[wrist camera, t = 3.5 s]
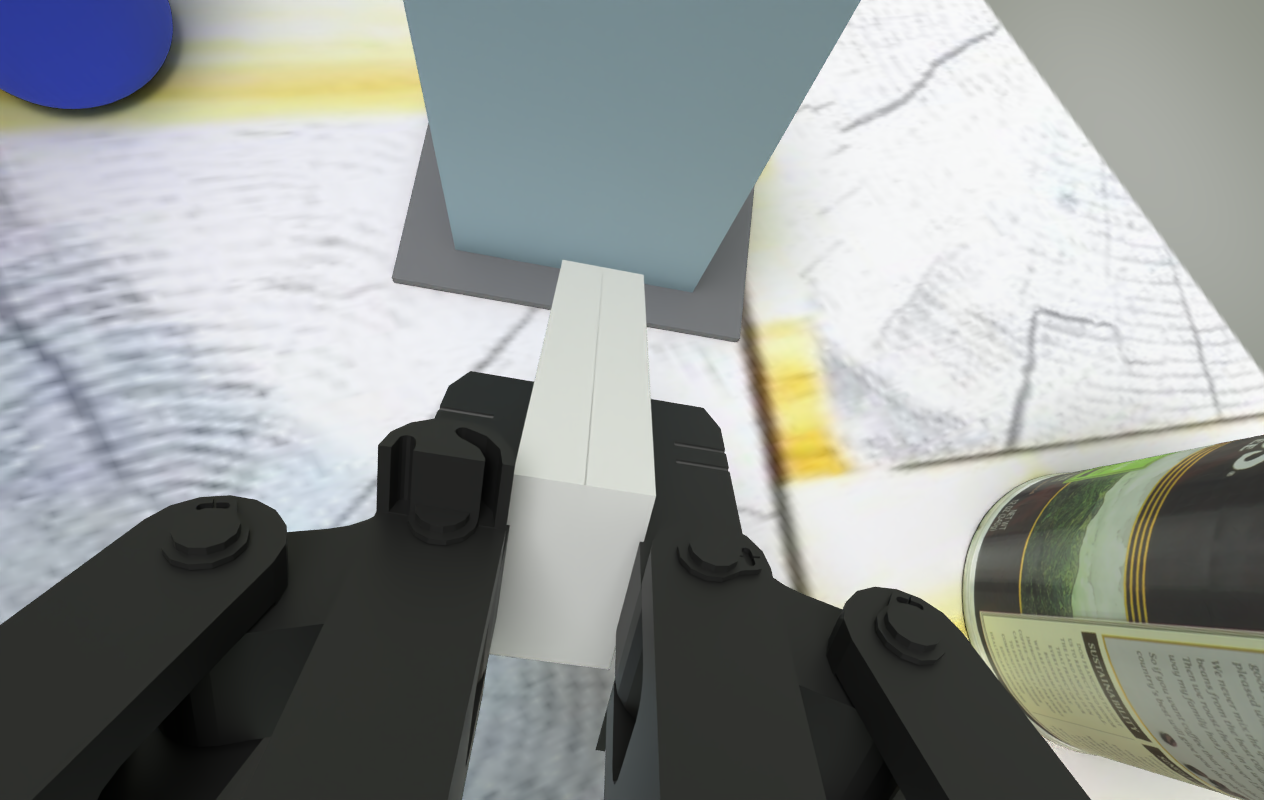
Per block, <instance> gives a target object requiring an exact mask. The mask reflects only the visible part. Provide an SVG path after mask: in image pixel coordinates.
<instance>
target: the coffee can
mask: <svg viewBox="0 0 1264 800" xmlns="http://www.w3.org/2000/svg"><path fill="white" fill-rule="evenodd" d="M963 611H964V618H965V624H966V628H967V632H968V635H969V638H970V642H971V645H972V646H973V647H974V649H975V650H976V651H977V653H978V654H979V655H980V656H981V658H982V659H983V660H984V662H985V663H986V664H987V666H988V667H989V668H990V669H991V671H992V672H993V673H994V675H995V676H996V677H997V679H998V680H999V681H1000V682H1001V684H1002V685H1003V686H1004V688H1005V689H1006V690H1007V691H1008V693H1009V694H1010V695H1011V697H1012V698H1013V699H1014V701H1015V702H1016V703H1017V704H1018V706H1019V707H1020V708H1021V710H1022V711H1023V712H1024V714H1025V715H1026V716H1027V717H1028V719H1029V720H1030V721H1031V723H1032V724H1033V725H1034V726H1035V728H1036V729H1037V730H1038V732H1039V733H1040V734H1041V735H1042V736H1043V737H1045V738H1047V739H1048V740H1050V741H1052V742H1055V743H1057V744H1059V745H1061V746H1064V747H1066V748H1068V749H1070V750H1074V751H1077V752H1081V753H1086V754H1091V755H1098V756H1102V757H1105V758H1109V759H1112V760H1115V761H1118V762H1122V763H1125V764H1128V765H1131V766H1135V767H1138V768H1141V769H1144V770H1147V771H1151V772H1154V773H1157V774H1160V775H1164V776H1167V777H1170V778H1173V779H1177V780H1180V781H1183V782H1186V783H1190V784H1193V785H1196V786H1200V787H1203V788H1206V789H1209V790H1213V791H1216V792H1219V793H1222V794H1225V795H1228V796H1230V797H1234V798H1237V799H1240V800H1264V435H1261V436H1255V437H1251V438H1246V439H1240V440H1235V441H1230V442H1224V443H1219V444H1215V445H1211V446H1206V447H1200V448H1195V449H1190V450H1185V451H1180V452H1175V453H1169V454H1164V455H1160V456H1155V457H1150V458H1145V459H1139V460H1134V461H1129V462H1124V463H1119V464H1114V465H1109V466H1102V467H1097V468H1093V469H1089V470H1083V471H1078V472H1073V473H1058V474H1051V475H1046V476H1042V477H1039V478H1036V479H1033V480H1030V481H1028V482H1026V483H1024V484H1022V485H1020V486H1018V487H1016V488H1015V489H1013V490H1012V491H1010V492H1009V493H1008V494H1006V495H1005V496H1004V497H1002V498H1001V499H1000V500H999V501H998V502H997V503H996V504H995V505H994V506H993V507H992V508H991V509H990V510H989V511H988V513H987V514H986V516H985V517H984V518H983V520H982V521H981V523H980V525H979V527H978V529H977V531H976V533H975V535H974V537H973V539H972V542H971V545H970V548H969V551H968V554H967V558H966V563H965V568H964V576H963Z"/></svg>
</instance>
